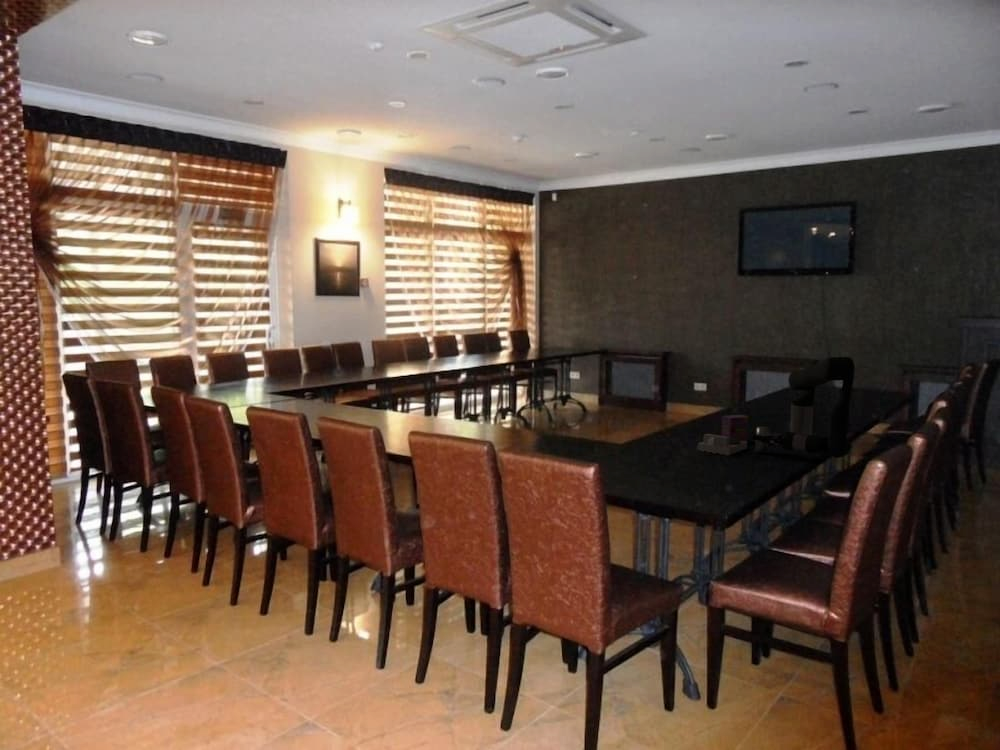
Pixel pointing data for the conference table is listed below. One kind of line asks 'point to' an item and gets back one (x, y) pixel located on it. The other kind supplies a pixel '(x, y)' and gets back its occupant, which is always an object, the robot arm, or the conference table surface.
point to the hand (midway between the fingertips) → (755, 436)
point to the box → (735, 426)
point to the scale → (721, 444)
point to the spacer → (758, 444)
